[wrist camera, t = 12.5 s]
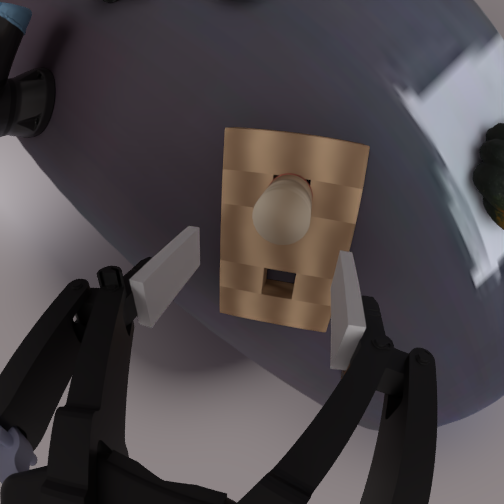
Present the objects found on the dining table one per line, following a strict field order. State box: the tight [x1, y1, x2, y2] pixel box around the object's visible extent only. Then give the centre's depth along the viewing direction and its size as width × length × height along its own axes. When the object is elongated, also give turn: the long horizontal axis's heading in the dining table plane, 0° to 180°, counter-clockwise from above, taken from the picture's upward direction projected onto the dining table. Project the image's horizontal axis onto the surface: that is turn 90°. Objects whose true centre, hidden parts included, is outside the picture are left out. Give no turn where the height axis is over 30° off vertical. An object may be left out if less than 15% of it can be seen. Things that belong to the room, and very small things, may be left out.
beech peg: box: [252, 173, 313, 245], centre depth 28 cm, size 5×5×12 cm
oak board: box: [220, 127, 370, 332], centre depth 35 cm, size 16×26×4 cm, turn 176°
